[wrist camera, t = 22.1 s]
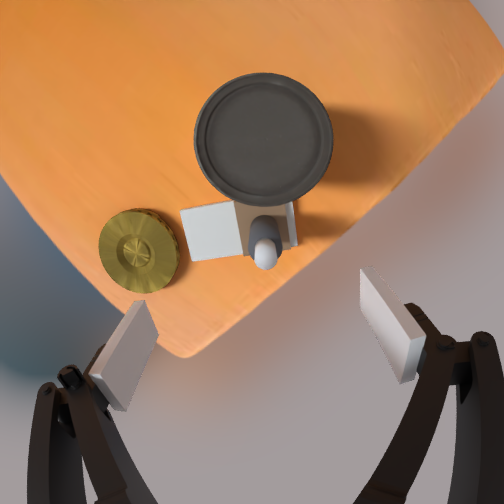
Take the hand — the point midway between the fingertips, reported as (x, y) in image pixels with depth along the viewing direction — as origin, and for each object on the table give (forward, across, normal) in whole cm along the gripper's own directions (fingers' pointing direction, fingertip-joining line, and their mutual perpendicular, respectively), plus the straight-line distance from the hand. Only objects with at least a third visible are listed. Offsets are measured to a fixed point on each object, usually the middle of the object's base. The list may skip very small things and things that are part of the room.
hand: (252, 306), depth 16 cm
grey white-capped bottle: (+19, +1, -1) cm, 19 cm away
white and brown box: (+21, -2, -1) cm, 21 cm away
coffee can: (+21, +2, +9) cm, 23 cm away
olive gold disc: (+21, -17, -2) cm, 27 cm away
